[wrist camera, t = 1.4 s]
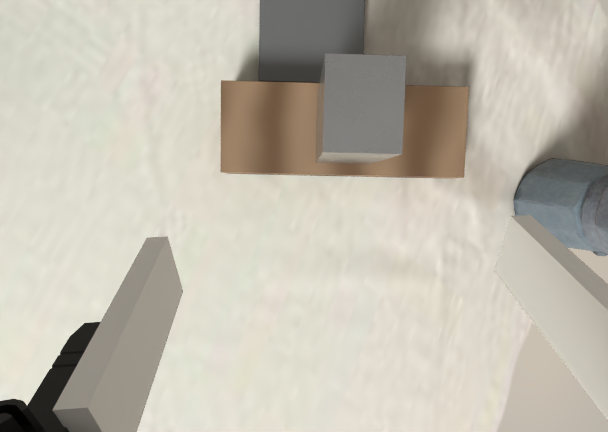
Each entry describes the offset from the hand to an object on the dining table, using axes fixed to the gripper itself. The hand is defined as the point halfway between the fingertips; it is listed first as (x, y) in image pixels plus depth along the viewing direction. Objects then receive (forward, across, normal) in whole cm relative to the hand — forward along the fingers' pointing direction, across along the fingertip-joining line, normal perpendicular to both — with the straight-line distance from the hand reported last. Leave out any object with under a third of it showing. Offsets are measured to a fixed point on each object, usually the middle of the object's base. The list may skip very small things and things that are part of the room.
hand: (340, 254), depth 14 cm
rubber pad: (+28, +1, +6) cm, 29 cm away
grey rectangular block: (+20, +3, -2) cm, 21 cm away
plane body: (+24, +3, -4) cm, 24 cm away
